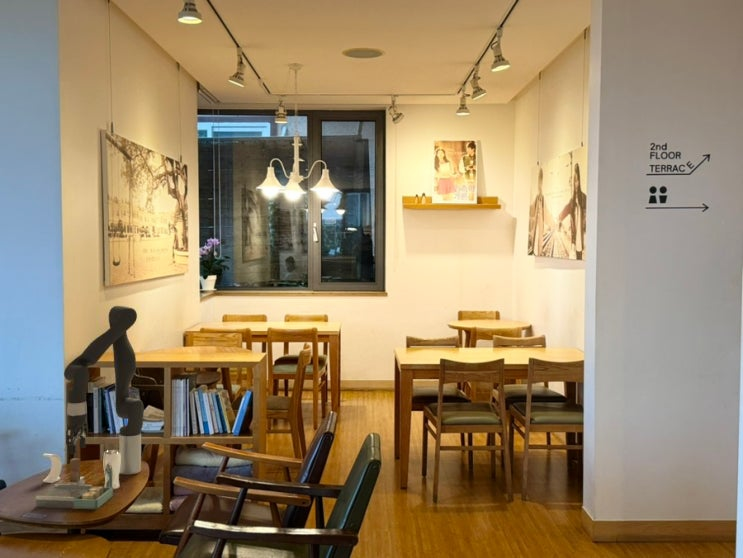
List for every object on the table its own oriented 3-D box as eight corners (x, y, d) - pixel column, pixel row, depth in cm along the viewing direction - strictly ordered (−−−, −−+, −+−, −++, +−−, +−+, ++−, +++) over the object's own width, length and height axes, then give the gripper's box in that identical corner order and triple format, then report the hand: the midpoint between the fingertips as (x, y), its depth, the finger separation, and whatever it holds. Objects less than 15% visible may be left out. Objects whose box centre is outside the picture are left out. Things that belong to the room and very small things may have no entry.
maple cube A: (93, 486, 277) (103, 486, 277) (93, 496, 277) (103, 496, 277) (88, 489, 273) (98, 490, 273) (88, 499, 273) (98, 500, 273)
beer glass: (120, 489, 288) (120, 453, 287) (102, 490, 285) (102, 455, 285) (121, 484, 294) (121, 449, 294) (103, 485, 292) (103, 450, 292)
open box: (55, 493, 281) (55, 483, 281) (91, 495, 280) (91, 484, 280) (35, 507, 266) (35, 496, 266) (73, 508, 265) (73, 497, 265)
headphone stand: (43, 481, 295) (43, 454, 295) (52, 477, 301) (52, 450, 300) (52, 483, 294) (52, 455, 294) (61, 478, 300) (61, 451, 299)
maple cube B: (86, 491, 271) (96, 492, 271) (86, 501, 271) (96, 502, 271) (81, 495, 267) (92, 495, 267) (81, 505, 267) (92, 505, 267)
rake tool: (77, 483, 294) (77, 455, 294) (84, 483, 294) (84, 455, 294) (65, 492, 283) (65, 463, 283) (72, 492, 283) (72, 463, 283)
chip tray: (91, 495, 280) (91, 486, 280) (113, 496, 279) (113, 487, 279) (73, 508, 265) (73, 499, 265) (96, 509, 265) (96, 500, 264)
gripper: (76, 408, 295) (77, 445, 296) (59, 416, 281) (60, 455, 281) (93, 408, 294) (94, 445, 295) (77, 417, 280) (78, 456, 281)
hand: (77, 450), depth 288 cm, fingers open, 8 cm apart
